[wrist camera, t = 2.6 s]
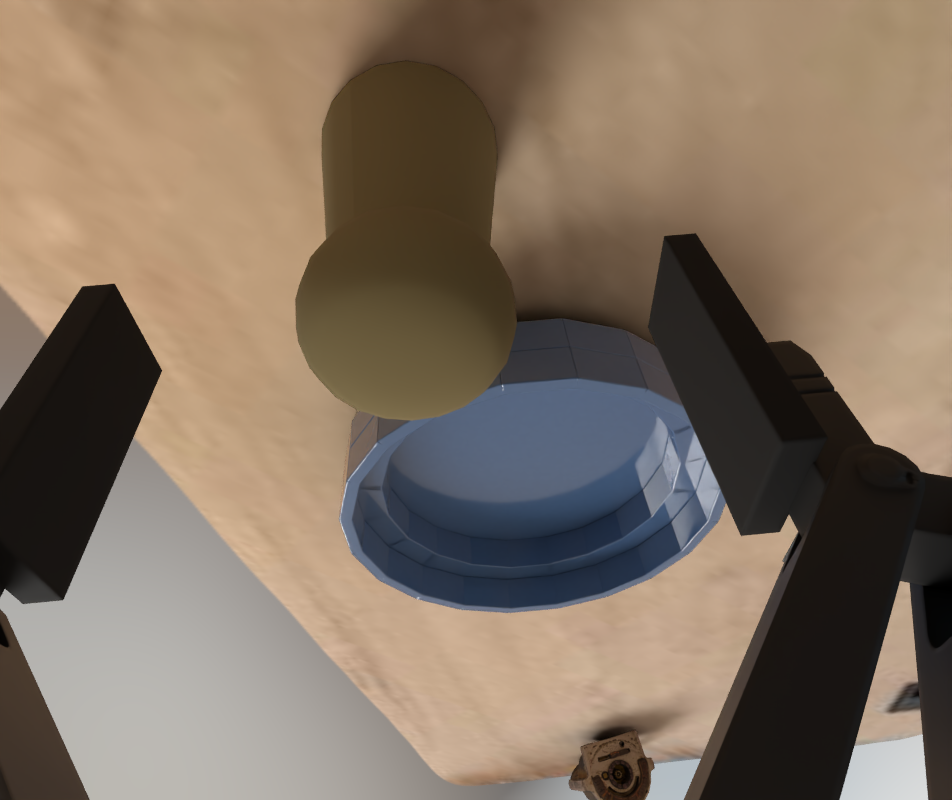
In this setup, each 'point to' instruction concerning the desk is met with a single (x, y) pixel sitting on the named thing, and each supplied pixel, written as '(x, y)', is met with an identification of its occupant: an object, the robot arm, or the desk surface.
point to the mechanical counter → (613, 769)
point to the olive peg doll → (407, 248)
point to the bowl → (534, 480)
